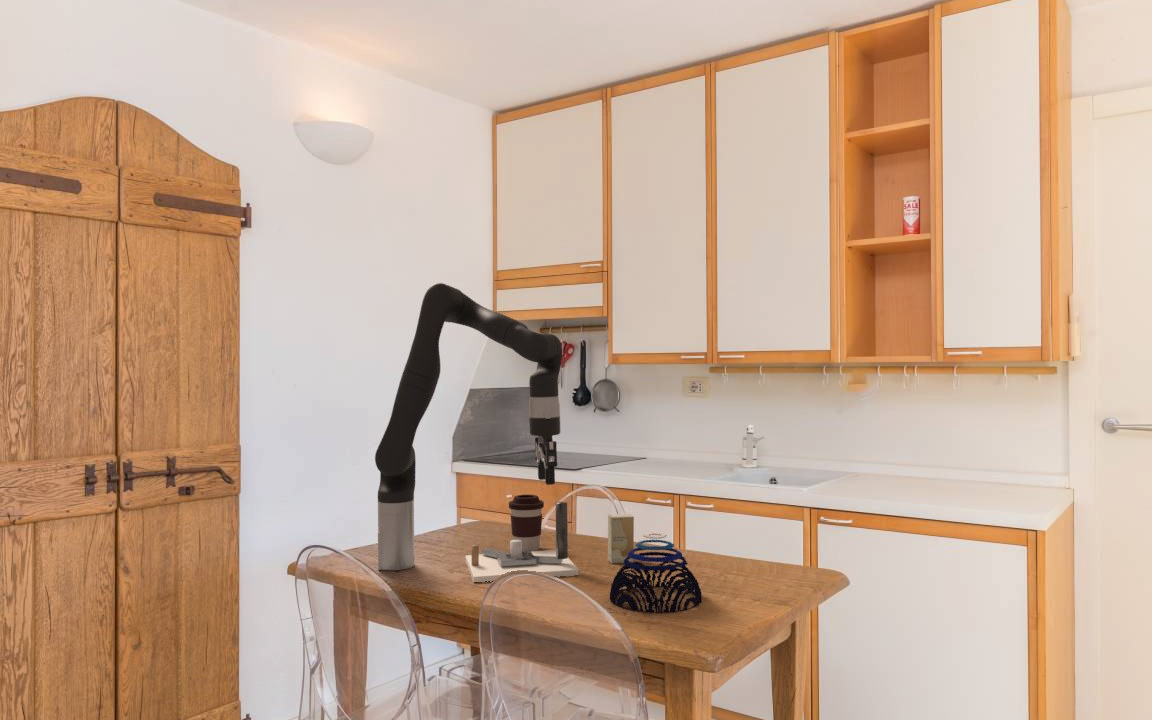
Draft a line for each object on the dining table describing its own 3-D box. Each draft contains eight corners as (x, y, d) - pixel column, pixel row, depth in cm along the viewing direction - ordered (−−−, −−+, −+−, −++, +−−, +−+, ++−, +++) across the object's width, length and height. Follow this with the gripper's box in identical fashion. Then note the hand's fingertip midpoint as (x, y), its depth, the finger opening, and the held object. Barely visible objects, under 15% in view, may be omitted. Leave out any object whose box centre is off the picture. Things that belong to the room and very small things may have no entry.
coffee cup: (528, 555, 220) (528, 500, 220) (501, 550, 226) (501, 497, 226) (551, 548, 228) (550, 495, 228) (524, 543, 234) (524, 492, 234)
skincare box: (611, 564, 210) (610, 517, 210) (607, 560, 214) (606, 514, 214) (634, 562, 211) (634, 516, 211) (630, 558, 215) (630, 513, 215)
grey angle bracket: (488, 568, 198) (487, 507, 198) (480, 552, 215) (480, 496, 215) (569, 563, 203) (568, 503, 203) (555, 548, 220) (555, 492, 220)
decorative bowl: (591, 600, 179) (590, 535, 179) (649, 582, 193) (648, 522, 193) (660, 620, 164) (660, 550, 164) (718, 599, 178) (717, 534, 178)
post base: (473, 583, 193) (473, 553, 193) (465, 561, 214) (465, 534, 214) (578, 575, 198) (578, 547, 198) (560, 554, 220) (560, 529, 220)
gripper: (524, 414, 201) (525, 479, 201) (535, 417, 187) (537, 487, 187) (553, 413, 203) (555, 477, 203) (566, 416, 189) (568, 485, 189)
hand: (546, 481), depth 195 cm, fingers open, 8 cm apart
